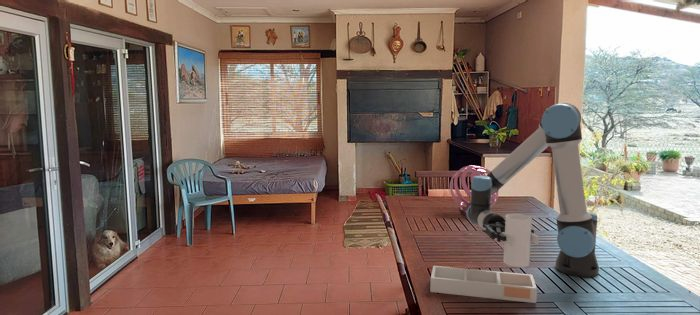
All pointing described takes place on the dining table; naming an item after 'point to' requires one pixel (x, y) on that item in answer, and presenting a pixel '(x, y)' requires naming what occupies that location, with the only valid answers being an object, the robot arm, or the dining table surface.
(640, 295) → the dining table surface
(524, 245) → the cup
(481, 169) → the pink openwork ring ball
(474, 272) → the bay rack
